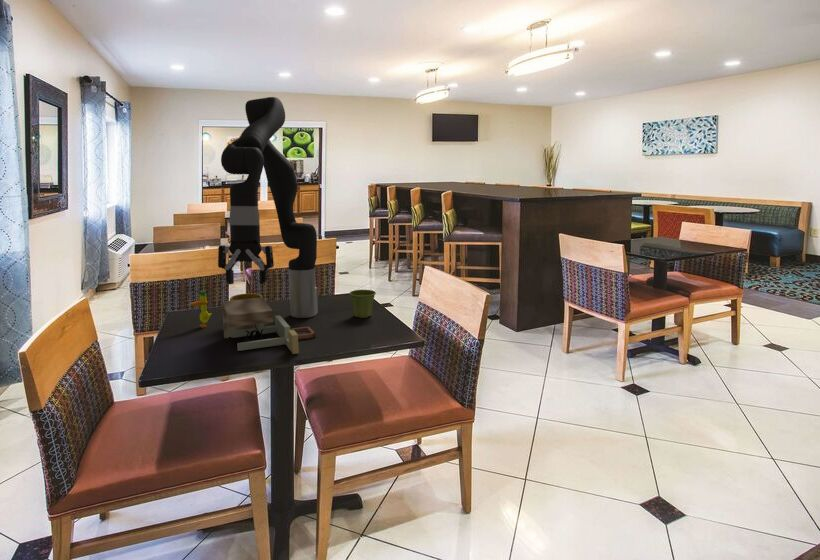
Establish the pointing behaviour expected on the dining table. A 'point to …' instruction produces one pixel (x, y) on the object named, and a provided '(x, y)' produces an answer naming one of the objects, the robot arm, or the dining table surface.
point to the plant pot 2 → (362, 302)
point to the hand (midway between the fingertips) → (246, 284)
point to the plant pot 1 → (245, 296)
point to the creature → (252, 334)
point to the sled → (282, 330)
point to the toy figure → (202, 308)
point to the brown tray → (304, 333)
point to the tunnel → (245, 314)
